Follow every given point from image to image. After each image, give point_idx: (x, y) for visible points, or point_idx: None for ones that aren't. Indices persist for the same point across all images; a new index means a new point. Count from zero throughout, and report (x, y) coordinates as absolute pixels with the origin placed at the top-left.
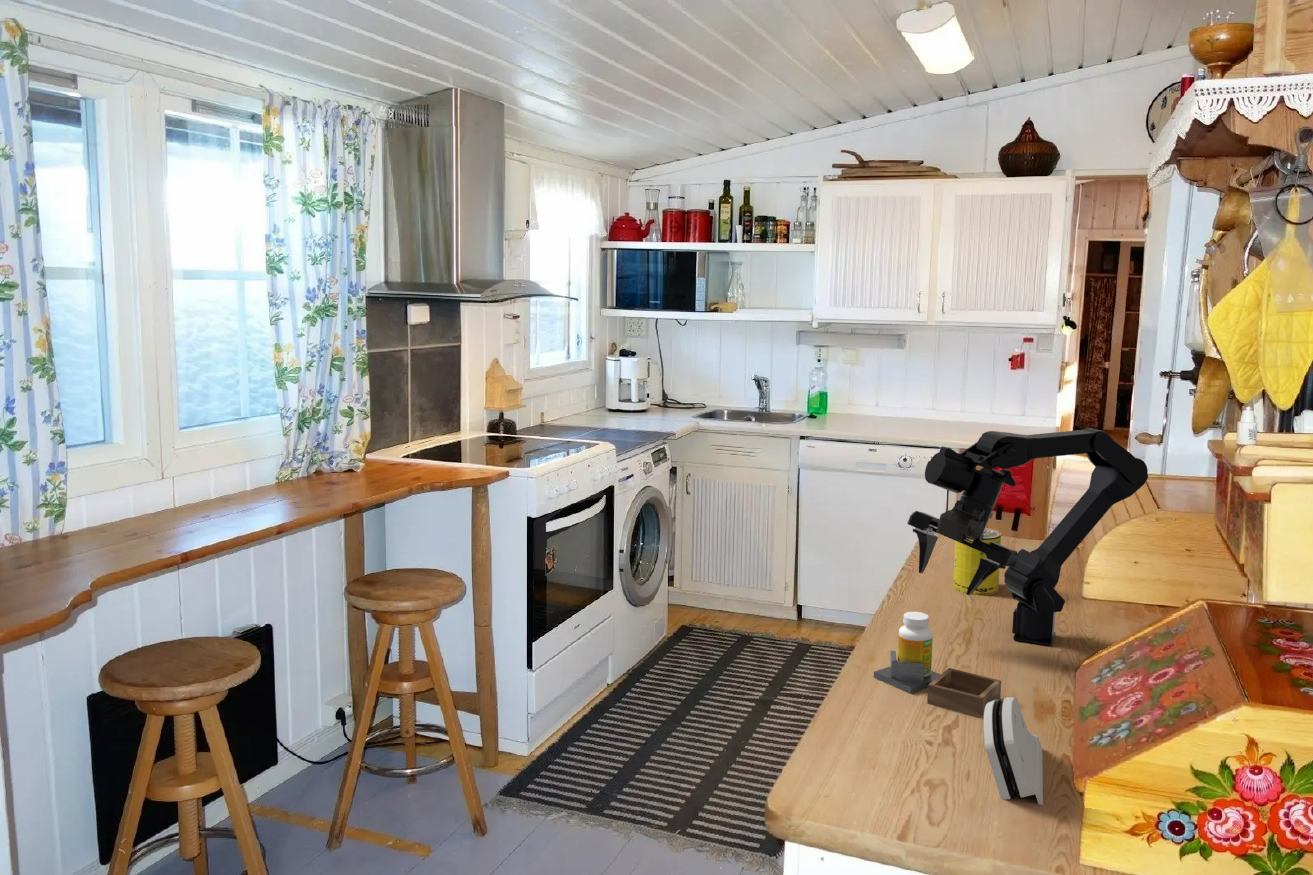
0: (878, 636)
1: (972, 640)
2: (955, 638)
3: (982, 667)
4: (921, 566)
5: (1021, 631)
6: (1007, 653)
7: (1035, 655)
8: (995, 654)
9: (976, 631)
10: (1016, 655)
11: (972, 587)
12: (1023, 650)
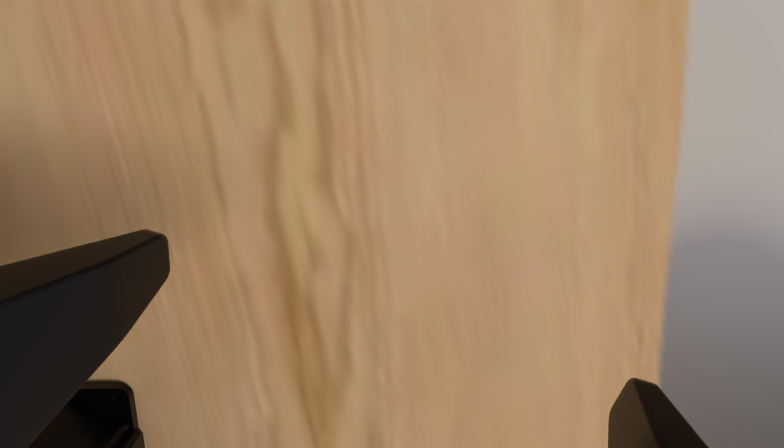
0: (647, 190)
1: (277, 318)
2: (344, 310)
3: (154, 20)
4: (665, 425)
5: (91, 427)
6: None
7: None
8: (151, 205)
9: (288, 418)
10: (72, 233)
11: (72, 253)
12: None
